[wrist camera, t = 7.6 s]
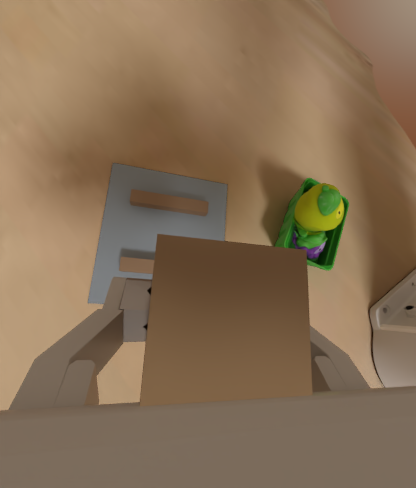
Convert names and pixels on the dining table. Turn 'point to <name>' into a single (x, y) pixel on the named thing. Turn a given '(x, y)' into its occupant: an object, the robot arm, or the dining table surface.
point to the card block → (226, 323)
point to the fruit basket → (315, 223)
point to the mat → (151, 221)
